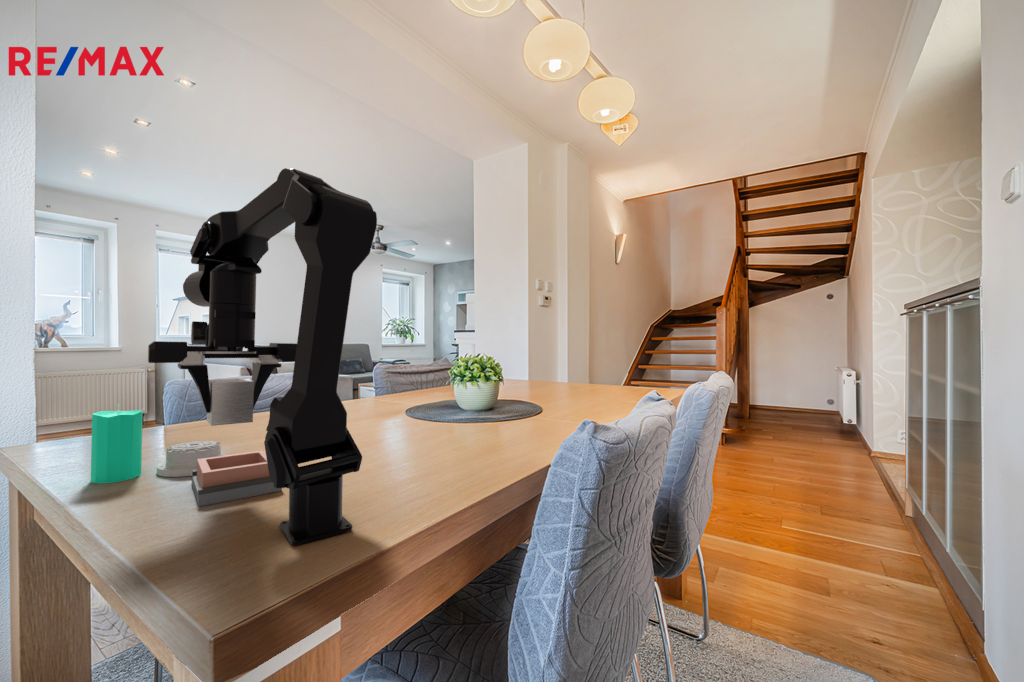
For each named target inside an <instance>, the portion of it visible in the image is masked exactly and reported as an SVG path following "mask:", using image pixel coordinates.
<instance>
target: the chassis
mask: <svg viewBox="0 0 1024 682" xmlns="http://www.w3.org/2000/svg"><path fill="white" fill-rule="evenodd" d="M191 485H192V489H193V491H194V492H193V493H194V497H195V499H196V503H197V507H203V506H209V505H214V504H219V503H225V502H230V501H235V500H240V499H244V498H245V499H246V498H249V497H255V496H256V497H257V496H261V495H266V494H271V493H277V492H282V491H283V488H275V487H274V483H272V482H271V479H270V476H269V470H268V464H267V457H266V451H265V449H264V450H258V451H250V452H249V451H248V452H241V453H234V454H228V455H227V454H226V455H224V456H218V457H210V458H202V459H197V470H192V476H191Z"/></svg>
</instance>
